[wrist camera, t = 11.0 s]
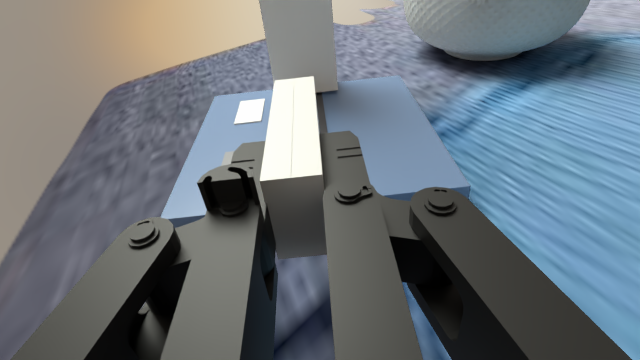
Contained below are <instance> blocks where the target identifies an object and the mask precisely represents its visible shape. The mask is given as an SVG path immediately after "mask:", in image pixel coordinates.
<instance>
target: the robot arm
mask: <svg viewBox="0 0 640 360" xmlns="http://www.w3.org/2000/svg"><path fill="white" fill-rule="evenodd" d="M197 185H198V187H199V190H200V193H201V196H202V198H203V201H204V204H205V206H206V209H207V211H206V214H205V217H204V218H202V219H200V220H197V221H195V222H192V223H189V224H186V225H183V226H180V227H177V228H174V226H173V224H172V223H171V222H170V221H169V220H168V219H165V218H161V217H156V218H148V219H145V220H141V221H138V222H136V223H135V224H133V225H131V226H129V227H128V228H126V229H125V230H124V231H123V232H122V233H121V234H120V235H119V236H118V237H117V238H116V239H115V240H114V242H113V243H112V244H111V245H110V246H109V247H108V248H107V250H106V251H105V252H104V253H103V254H102V255H101V256H100V258H99V259H98V260H97V261H96V262H95V263H94V264H93V266H92V267H91V268H90V269H89V270H88V271H87V272H86V274H85V275H84V276H83V277H82V278H81V279H80V281H79V282H78V283H77V284H76V285H75V286H74V287H73V289H72V290H71V291H70V292H69V293H68V294H67V295H66V297H65V298H64V299H63V300H62V301H61V302H60V303H59V305H58V306H57V307H56V308H55V309H54V310H53V311H52V313H51V314H50V315H49V316H48V317H47V318H46V319H45V321H44V322H43V323H42V324H41V325H40V326H39V328H38V329H37V330H36V331H35V332H34V333H33V334H32V336H31V337H30V338H29V339H28V340H27V341H26V342H25V344H24V345H23V346H22V347H21V348H20V349H19V350H18V352H17V353H16V354H15V355H14V356H13V357H12V358H11V360H273V351H274V333H275V315H276V298H277V280H278V273H277V268H276V264H275V251H276V252H277V256H278V259H287V258H296V257H306V256H316V255H326V254H327V260H328V273H329V286H330V299H331V311H332V324H333V337H334V350H335V360H423V358H422V354H421V351H420V347H419V343H418V340H417V336H416V332H415V329H414V325H413V322H412V318H411V314H410V311H409V307H408V303H407V300H406V296H405V293H404V289H403V285H402V282H407V285H408V288H409V289H410V291H411V293H412V294H413V296H414V298H415V299H416V301H417V303H418V304H419V306H420V308H421V309H422V311H423V313H424V314H425V316H426V318H427V319H428V321H429V323H430V324H431V326H432V327H433V329H434V331H435V332H436V334H437V336H438V337H439V339H440V341H441V342H442V344H443V346H444V347H445V349H446V351H447V352H448V354H449V356H450V357H451V359H452V360H632V359H631V358H630V357H629V356H628V355H627V354H626V353H625V352H624V351H623V350H622V349H621V348H620V347H619V346H618V345H617V344H616V343H615V342H614V341H613V340H612V339H611V338H609V337H608V336H607V335H606V334H605V333H604V332H603V331H602V330H601V329H600V328H599V327H598V326H597V325H596V324H595V323H594V322H593V321H592V320H591V319H590V318H589V317H588V316H587V315H586V314H585V313H584V312H583V311H582V310H581V309H580V308H579V307H578V306H577V305H576V304H575V303H574V302H573V301H572V300H571V299H570V298H569V297H568V296H566V295H565V294H564V293H563V292H562V291H561V290H560V289H559V288H558V287H557V286H556V285H555V284H554V283H553V282H552V281H551V280H550V279H549V278H548V277H547V276H546V275H545V274H544V273H543V272H542V271H541V270H540V269H539V268H538V267H537V266H536V265H535V264H534V263H533V262H532V261H531V260H530V259H529V258H528V257H527V256H526V255H525V254H523V253H522V252H521V251H520V250H519V249H518V248H517V247H516V246H515V245H514V244H513V243H512V242H511V241H510V240H509V239H508V238H507V237H506V236H505V235H504V234H503V233H502V232H501V231H500V230H499V229H498V228H497V227H496V226H495V225H494V224H493V223H492V222H491V221H490V220H489V219H488V218H487V217H486V216H485V215H484V214H483V213H482V212H481V211H479V210H478V209H477V208H476V207H475V206H474V205H473V204H472V203H471V202H470V201H469V200H468V199H467V198H466V197H465V196H463V195H462V194H460V193H459V192H458V191H455V190H452V189H449V188H444V187H430V188H424V189H422V190H420V191H417V192H416V193H415V194H414V195H413V196H412V197H411V201H404V200H396V199H391V198H388V197H385V196H382V195H381V194H379V193H377V191H376V190H375V188H374V187H373V185H371V184H370V181H369V177H368V173H367V169H366V166H365V162H364V158H363V155H362V150H361V147H360V143H359V139H358V137H357V136H356V135H354V134H353V133H352V132H351V131H341V132H332V133H322V134H320V129H319V120H318V111H317V102H316V93H315V84H314V76H311V77H302V78H293V79H284V80H275V82H274V88H273V95H272V102H271V108H270V115H269V122H268V128H267V135H266V141H259V142H249V143H242V144H241V145H240V146H239V147H238V148H237V149H236V150H235V151H234V153H233V156H232V160H231V164H228V165H223V166H219V167H216V168H214V169H212V170H210V171H208V172H207V173H205V174H204V175H203V176H201V178H200V179H199V181H198V182H197ZM145 302H146V303H145ZM144 303H145V305H144V306H143V304H144ZM142 306H143V308H142V309H141V307H142ZM140 309H141V310H140ZM139 310H140V311H139Z"/></svg>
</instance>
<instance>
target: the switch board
mask: <svg viewBox="0 0 640 360" xmlns="http://www.w3.org/2000/svg"><path fill="white" fill-rule="evenodd" d="M337 83H338V90H334V91H326V92H317V93H316V102H317V111H318V120H319V129H320V134H322V133H332V132H341V131H351V132H352V133H353V134H354V135H356V136H357V137H358V139H359V143H360V147H361V150H362V155H363V158H364V162H365V166H366V169H367V173H368V177H369V181H370V184H371V185H373V187H374V188H375V190H376V191H377V193H379V194H381V195H382V196H385V197H388V198H391V199H396V200H404V201H411V197H412V196H413V195H414V194H415V193H416V192H417V191H420V190H422V189H424V188H430V187H444V188H449V189H452V190H455V191H458V192H459V193H460V194H462V195H463V196H465V197H466V198H467V199H468V197H469V191H470V185H469V183H468V181H467V180H466V178H465V177H464V175H463V174H462V172H461V171H460V169H459V167H458V166H457V164H456V163H455V161H454V160H453V158H452V157H451V155H450V153H449V152H448V150H447V149H446V147H445V146H444V144H443V143H442V141H441V139H440V138H439V136H438V135H437V133H436V132H435V130H434V129H433V127H432V125H431V124H430V122H429V121H428V119H427V118H426V116H425V115H424V113H423V111H422V110H421V108H420V107H419V105H418V104H417V102H416V101H415V99H414V97H413V96H412V94H411V93H410V91H409V90H408V88H407V87H406V85H405V83H404V82H403V80H402V79H401V77H400V76H399V75H397V76H388V77H379V78H371V79H362V80H353V81H344V82H337ZM272 95H273V90H265V91H256V92H248V93H239V94H230V95H221V96H215V98H214V100H213V102H212V104H211V107H210V109H209V111H208V113H207V116H206V118H205V120H204V122H203V124H202V127H201V129H200V131H199V133H198V135H197V138H196V140H195V142H194V144H193V147H192V149H191V151H190V153H189V155H188V158H187V160H186V162H185V164H184V166H183V169H182V171H181V173H180V175H179V178H178V180H177V182H176V184H175V186H174V189H173V191H172V193H171V195H170V197H169V200H168V202H167V204H166V206H165V208H164V211H163V213H162V215H161V218H165V219H168V220H169V221H170V222H171V223H172V224H173V226H174V228H177V227H180V226H183V225H186V224H189V223H192V222H195V221H197V220H200V219H202V218H204V217H205V214H206V211H207V209H206V206H205V204H204V201H203V198H202V196H201V193H200V190H199V187H198V185H197V182H198V181H199V179H200V178H201V176H203V175H204V174H205V173H207V172H208V171H210V170H212V169H214V168H216V167H219V166H223V165H228V164H231V160H232V156H233V153H234V151H235V150H236V149H237V148H238V147H239V146H240V145H241V144H242V143H249V142H259V141H266V135H267V128H268V122H269V115H270V108H271V102H272Z"/></svg>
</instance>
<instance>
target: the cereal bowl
mask: <svg viewBox="0 0 640 360" xmlns="http://www.w3.org/2000/svg"><path fill="white" fill-rule="evenodd" d="M589 2H590V0H404V9H405V15H406V19H407V22H408V25H409V26H410V28H411V29H412V31H413V32H414V33H415V34H416V35H417V36H418V37H419V38H420V39H421V40H423V41H425V42H426V43H428V44H430V45H432V46H434V47H437V48H440V49H443V50H444V51H445V52H446V53H447V54H449V55H451V56H453V57H457V58H460V59H465V60H474V61H493V60H502V59H507V58H511V57H514V56H516V55H518V54H520V53H521V52H523V51H528V50H531V49H535V48H538V47H542V46H544V45H547V44H549V43H551V42H553V41H555V40H556V39H559V38H560V37H561V36H562V35H564V34H565V33H567V32H568V31H569V30H570V29H571V28H572V27H573V26H574V25H575V24H576V23H577V22H578V21H579V19H580V18H581V16H582V15H583V13H584V11H585V10H586V8H587V6H588V4H589Z"/></svg>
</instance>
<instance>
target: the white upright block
mask: <svg viewBox="0 0 640 360" xmlns="http://www.w3.org/2000/svg"><path fill="white" fill-rule="evenodd" d="M259 3H260V8H261V14H262V19H263V25H264V31H265V36H266V42H267V48H268V53H269V59H270V64H271V70H272V76H273V81H274V82H275V80H284V79H293V78H302V77H311V76H314V84H315V93H317V92H326V91H334V90H338V83H337V69H336V56H335V42H334V28H333V14H332V0H259Z"/></svg>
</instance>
